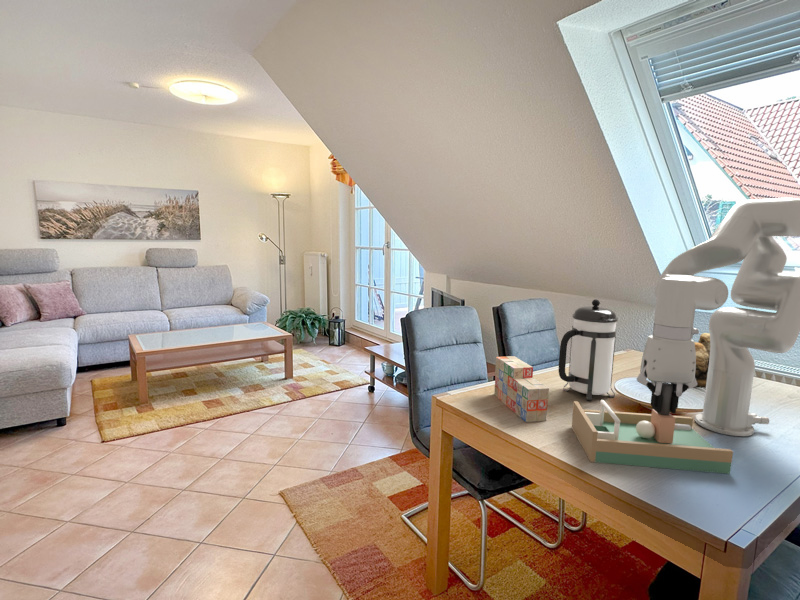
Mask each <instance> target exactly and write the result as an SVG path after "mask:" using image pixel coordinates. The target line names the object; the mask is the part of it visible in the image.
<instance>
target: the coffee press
mask: <svg viewBox="0 0 800 600" xmlns="http://www.w3.org/2000/svg"><path fill="white" fill-rule="evenodd" d="M591 305H592V306H581V307H578V308H576V309H575V310H574V312H573V313H572V326H571V330H568V331H566V333H564V335H563V336H562V338H561V341H560V345H559V356H558V375H559V376H558V377H560V379H561V381H564V382H566V384H565V385H563V391H564V392H568V391H569V390H573V391H576V392H578V393H581V394H586V401H587V402H592V400H593V396H599V395H605V394H607V395H608V396H609V397H610V398H614V397H615V392H614V390H613V388H612V380H613V371H614V362H615V361H614V358H615V349H616V336H617V329H616V328H617V327H616V326H617V322H618V320H619V318H618V317H617V314H616V312H615V311H614V310H612V309H609V308H606V307H600V305H601V301H599V299H593V300H592V301H591ZM569 341H570V343H571V344H570V348H569V349H570V351H569V352H570V353H569V356H570V357H569V366H568V369H569V371H568V374H567V373H566V365H567V364H566V363H567V362H566V361H567V351H568V343H569ZM567 385H569V388H567V389H566V387H567ZM609 391H611V392H612V394H613V395H611V394H610V393H609Z"/></svg>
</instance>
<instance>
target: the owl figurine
mask: <svg viewBox="0 0 800 600" xmlns="http://www.w3.org/2000/svg"><path fill="white" fill-rule="evenodd" d="M694 343H695V351H696V369H695V378H696V381H697V386H696V387H700V388H706V383H707V375H708V367H709V359H710V332H704V333H703V332H702V333H701V334H700V335H699V338H698V341H694Z"/></svg>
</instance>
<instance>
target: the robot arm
mask: <svg viewBox="0 0 800 600" xmlns="http://www.w3.org/2000/svg"><path fill="white" fill-rule="evenodd" d="M774 237H800V198H795V197H794V198H793V197H780V198H762V199H761V198H760V199H758V198H757V199H746V200H742V201H740V202H738V203H735V204H734V205H733V206H732V207H731V208H730V209H729V211H728V212H727V214H726V215H725V217H724V218H723V219H722V220H721V222H720V224H718V226H717V228H716V229H715V230H714V232H713V233H712V234H711V236H710V237H709V239H707V240H706V241H704V242H702V243H699V244H697V245H695V246H692V248H689V249H688V250H686V251H684V252H682V253H680V254H678V255H676V257H674V258H673V259H672V260H671V261H670V262H669V264H668V265H667V266H666V267H665V268H664V270H663V272H662V273H661V274H660V276H658V279H657V281H656V284H655V288H654V293H655V297H656V302H655V310H654V318H653V326H652V327H653V330H652V335H648V337H647V339H646V342H645V345H644V350H643V352H642V356H641V357H642V358H641V363H640V367H639V368H640V370H639V371H640V372H639V374H638V376H637V377H636V381H637V382H638V383H639V384H642V386H645V387H646V388H648V390H649V391H650V393H651V396H650V406H651V408H652V409H654V410H655V411H656V412H661V408H662V399H663V397H662V396H661V388H662V383H669V384H672V385H673V388H672V397H671V406H670V414H676V412H677V409H678V407H679V400H680V399H679V398H680V397H682V395H683V393H685V392H686V391H687V390H688V389H691V388H695V387H698V386H697V381H696V378H695V369H696V351H695V343H694V342H695V340H694V339H693V337H694V335H699V329H698V328H695V327H694V322H695V316H696V315H695V314H696V310H702V311H714V310H715V311H714V312H713V313H712V314H711V315H710V317H709V321H708V322H709V323H708V328H709V329H708V333H710V359H709V367H708V375H707V383H706V387H705V392H704V401H703V407H702V409H703V410H702V412H700V413H698V414H697V413H696V414H695V417H694V420H695V423H696V424H697V425H699V426H701V427H702V428H704V429H707V430H709V431H712V432H714V433H718V434H722V435H727V436H734V437H749V436H752V435H754V434H755V433H754V432H755V428H754V426H753V425H756V424H759V425H769V424H770V418H769V417H768V416H759V415H757V413H751V412H750V405H751V398H752V391H753V383H754V375H755V372H756V371H755V369H756V363H755V359H754V358H753V355H752V354H751V352H750V350H749V349H753V350H759V351H761V352H762V351H763V352H768V353H773V354H774V353H775V354H785V353H787V352H789V351H790V350H792V348H793V346H794V345H795V343H796V342H797V340H798V338H799V334H800V273H799V274H798V273H793V272H791V273H790V272H783V271H784V268H785V266H786V263H787V258H788V257H787V255H786V254H787V253H785V251H784V249H783V248H782V247H781V245H780V244H779V243H778V242H777V241H776V240H775V238H774ZM741 261H742V263H741V266H740V267H739V269H738V273H737V274H736V277H735V279H734V281H733V283H732V286H731V290H730V299H731V300H732V302H733V303H734V304H736V305H739V306H742V307H736V306H735V307H734V306H725V307H723V305H725V303H726V302H727V300H728V298H729V289H728V286H727V284H726V283H725V282H724V281H723V280H720V279H719V278H717V277H711V276H700V275H697V274H698V273H702V272H706V271H709V270H714V269H715V270H716V269H719V268H724V267H727V266H731V265H736V264H738V263H740V262H741ZM745 307H747V308H745ZM751 308H754V309H751ZM757 309H758V310H757ZM759 309H760V310H759ZM764 310H768V311H764ZM772 311H774V312H772Z"/></svg>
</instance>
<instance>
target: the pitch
mask: <svg viewBox="0 0 800 600" xmlns="http://www.w3.org/2000/svg"><path fill="white" fill-rule="evenodd" d="M599 403H600V407H599V410H597V409H584V408H583V407H582V406H581V404H580V402H579V401H577V400H574V401H573V403H572V404H573V405H572V407H573V409H572V418H571V428H572V430H573V432H574V434H575V436H576V437H577V440H578V441H579V444H580V446H581V447H582V449H583V451H584V452H585V454H586V456H587V458H588V460H589V462H591V463H602V464H603V463H604V464H613V465H614V464H615V465H627V466H636V467H649V468H659V469H660V468H662V469H670V470H682V471H683V470H684V471H691V472H693V471H694V472H704V473H705V472H706V473H717V474H727V475H730V474H731V469H732V464H733V463H732V462H733V455H734V454H733V453H734V451H733V450H732V449H731V448H719V447H714V446H713V445H712V444H711V443H710V442H708V440H706V439H705V438H703V436H701V435H700V434H699V433H698V432H697V431H696V430H695V429H693V422H694V418H693V417H691V416H681V415H672V416H673V417H674V418H675V424H686V425H690V426H691V430H690V431H682V430H674V435H673V444H672V443H659V442H657V440H656V439H655V438H654V437H651V438H642V437H641V436H639V435H638V434H637V432H636V425H637V424H638V423H639V422H640V421H649V422H651V415H652V413H641V412H638V413H637V412H629V411H628V412H625V411H613V410H612V409H611V407H610V406H609V404H608V403H607V401H605V400H604V399H601V400H600V401H599Z"/></svg>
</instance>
